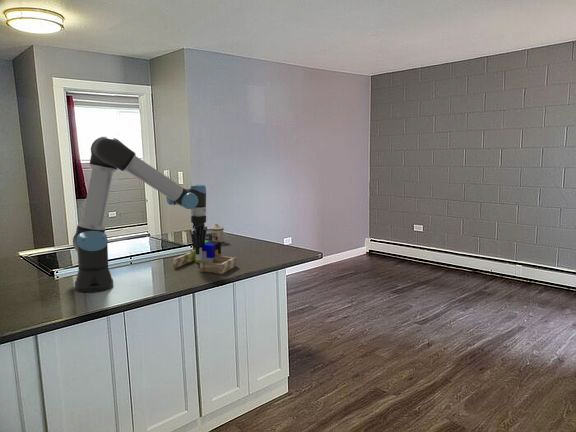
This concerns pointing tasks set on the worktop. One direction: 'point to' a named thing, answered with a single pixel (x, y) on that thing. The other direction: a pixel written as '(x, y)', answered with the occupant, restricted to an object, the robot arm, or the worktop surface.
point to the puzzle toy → (209, 251)
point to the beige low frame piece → (207, 263)
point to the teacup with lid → (217, 233)
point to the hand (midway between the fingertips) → (198, 259)
